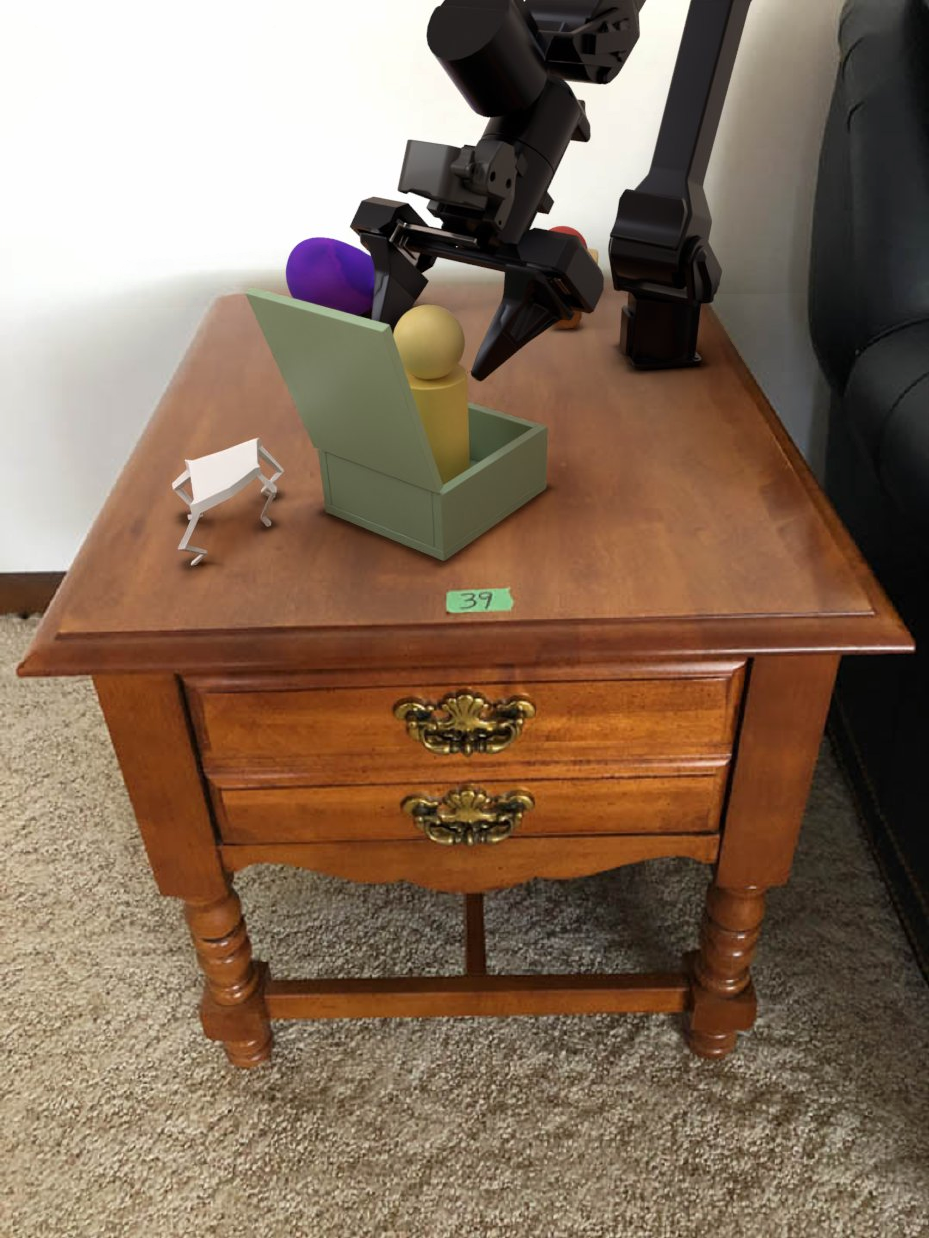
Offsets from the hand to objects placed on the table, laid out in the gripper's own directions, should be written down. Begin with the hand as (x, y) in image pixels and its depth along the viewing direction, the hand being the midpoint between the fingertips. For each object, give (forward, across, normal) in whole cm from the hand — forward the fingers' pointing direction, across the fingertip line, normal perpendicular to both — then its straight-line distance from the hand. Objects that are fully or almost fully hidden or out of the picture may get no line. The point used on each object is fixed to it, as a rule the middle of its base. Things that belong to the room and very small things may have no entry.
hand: (423, 363), depth 72 cm
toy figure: (+7, 0, +8) cm, 11 cm away
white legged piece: (+17, -10, 0) cm, 19 cm away
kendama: (-22, -16, +38) cm, 47 cm away
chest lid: (+5, 0, -6) cm, 7 cm away
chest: (+8, 0, +8) cm, 11 cm away
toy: (-11, -32, +27) cm, 43 cm away
